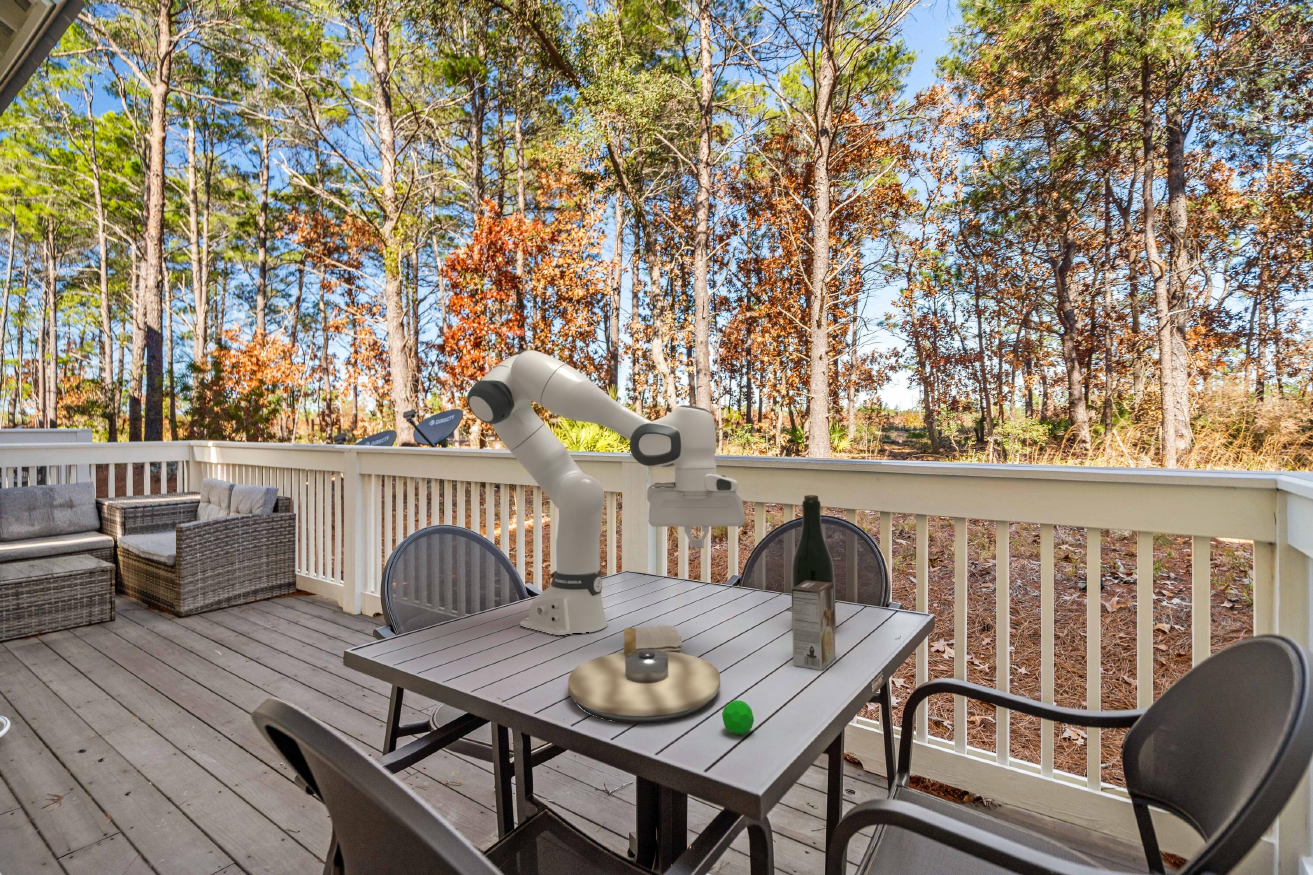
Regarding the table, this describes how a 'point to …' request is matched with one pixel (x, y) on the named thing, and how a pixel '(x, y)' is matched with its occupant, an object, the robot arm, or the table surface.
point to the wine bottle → (812, 549)
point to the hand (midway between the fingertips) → (697, 547)
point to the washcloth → (659, 639)
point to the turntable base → (647, 718)
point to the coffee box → (813, 624)
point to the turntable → (643, 684)
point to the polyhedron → (737, 717)
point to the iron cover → (646, 666)
